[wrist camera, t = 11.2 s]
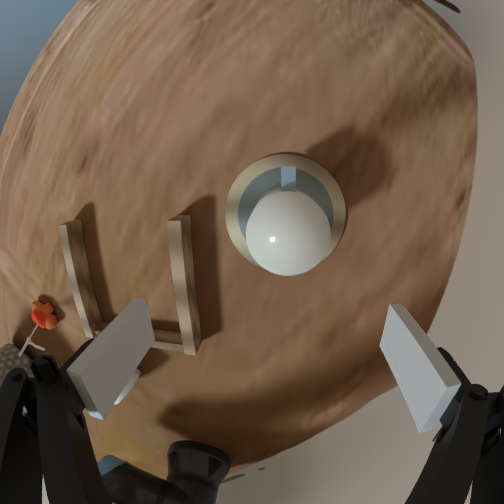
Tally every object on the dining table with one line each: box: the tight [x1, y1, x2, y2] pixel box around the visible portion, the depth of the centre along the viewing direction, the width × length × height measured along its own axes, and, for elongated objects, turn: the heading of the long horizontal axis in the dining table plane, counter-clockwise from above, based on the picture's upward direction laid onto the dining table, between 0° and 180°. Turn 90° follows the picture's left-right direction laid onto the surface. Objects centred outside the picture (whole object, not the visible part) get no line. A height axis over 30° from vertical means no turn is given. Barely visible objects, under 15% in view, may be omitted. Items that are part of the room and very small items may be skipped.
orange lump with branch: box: [19, 301, 57, 356], centre depth 35 cm, size 6×10×12 cm, turn 56°
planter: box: [0, 343, 34, 416], centre depth 40 cm, size 19×19×18 cm
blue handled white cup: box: [246, 166, 331, 276], centre depth 26 cm, size 7×9×9 cm
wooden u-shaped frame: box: [59, 215, 202, 355], centre depth 34 cm, size 18×19×4 cm
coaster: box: [225, 154, 346, 269], centre depth 31 cm, size 14×14×1 cm
